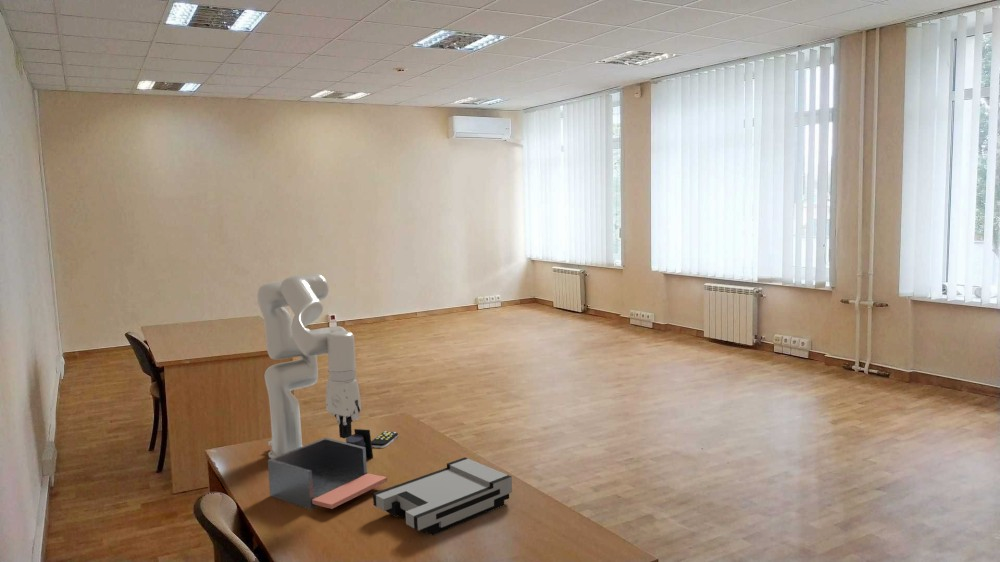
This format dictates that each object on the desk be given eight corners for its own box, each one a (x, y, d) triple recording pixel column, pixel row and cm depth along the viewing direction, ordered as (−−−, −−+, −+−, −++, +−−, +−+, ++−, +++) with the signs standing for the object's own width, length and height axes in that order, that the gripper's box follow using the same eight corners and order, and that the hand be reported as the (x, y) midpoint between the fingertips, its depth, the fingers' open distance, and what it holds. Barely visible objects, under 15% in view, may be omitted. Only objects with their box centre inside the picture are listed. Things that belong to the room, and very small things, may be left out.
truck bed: (270, 496, 210) (267, 460, 209) (327, 470, 228) (325, 437, 227) (311, 510, 200) (309, 472, 199) (368, 482, 218) (366, 447, 217)
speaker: (360, 454, 241) (358, 425, 239) (373, 458, 238) (370, 429, 236) (344, 463, 235) (341, 434, 233) (357, 468, 232) (354, 438, 229)
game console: (374, 517, 195) (372, 489, 194) (465, 483, 216) (464, 457, 215) (418, 544, 179) (417, 513, 178) (512, 504, 200) (511, 476, 199)
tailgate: (311, 499, 200) (331, 504, 195) (367, 473, 217) (386, 477, 213) (312, 503, 200) (331, 508, 195) (368, 477, 217) (387, 481, 213)
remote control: (367, 448, 248) (367, 442, 248) (383, 435, 261) (383, 430, 260) (384, 449, 247) (383, 444, 246) (399, 437, 259) (399, 431, 259)
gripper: (314, 374, 205) (318, 435, 208) (351, 381, 197) (354, 445, 199) (334, 368, 211) (337, 428, 214) (370, 375, 203) (373, 437, 205)
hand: (345, 436), depth 207 cm, fingers closed
